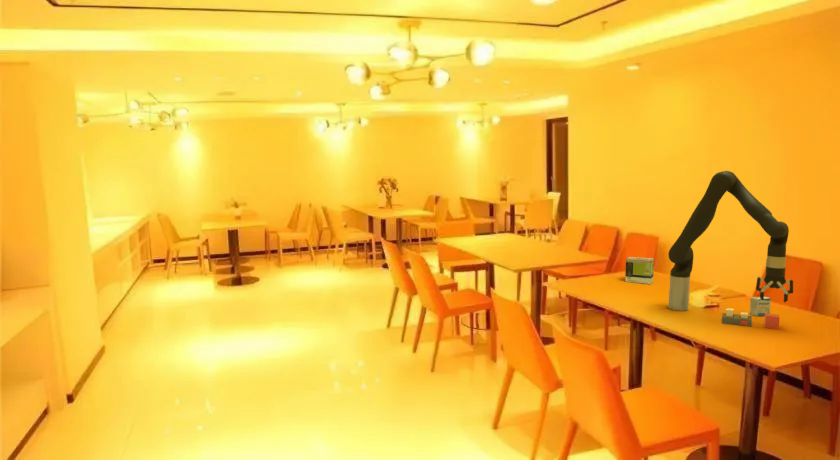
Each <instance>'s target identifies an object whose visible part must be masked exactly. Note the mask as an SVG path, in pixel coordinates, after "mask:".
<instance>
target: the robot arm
mask: <svg viewBox="0 0 840 460" xmlns="http://www.w3.org/2000/svg"><path fill="white" fill-rule="evenodd" d="M727 192H728V193H729V194H730V195H731V196H733V197H735V199H737V201H738V202H739V204H740V205H741V206H742V208H743V209H744V211H745V212H746V213H747V214H748V215H749V216H750V217H751V218H752V219H753V220H754V221H756V223H758V224H759V226H760V227H761V228H762V229H763V231H764V232H765V233H766V234H767V235H768V236H769V237H770V240H769V243H768V246H767V254H766V255H767V256H766V260H765V261H766V262H765V276H764V277H760V276H757V279H756V285H755V290H756V291H758V292H759V297H760V299H762V300H764V297H765V291H767V289H769V288H771V289H776V290H777V289H778V290H779V289H781V290H782V291H783V303H786V302H788V300H789V295H790V294H794V280H793V279H786V266H787V259H786V256H787V255H786V254H787V243H788V238H789V232H790V230H789V225H788V224H787V223H786V222H784V221H778V220H777V219H776V218H775V216H773V213H772V212H771V210H770V209H768V208H767V207H766V206H765V205H764V204H763V203H762V202H761V201H759V199H757V198H756V197H755V196H754V195H753V194H752V193H751V191H749V190H748V189H747V187H745V185H744V184H743V183H742V181H741V180H740V179H739V178H738V176H737V175H736V174H735V173H734V171H733V172H732V171H730V170H723V171H718V172H716V173H715V174H714V175H713V176H712V177H711V179H710V182H709V184H708V186H707V188H706V191H705V192H704V195H703V197H701V199H700V201H699V202H698V204H697V205H696V207H695V208H694V210H693V212H692V214H691V215H690V217H689V219H688V221H687V223H686V225H685V226H684V228H683V229H682V231H681V233H680V235H679V236H678V237H677V238H676V240H675V241H674V243H673V244H672V246H671V247H670V248H669V251H668V260H669V261H670V262H671V263H673V264H674V265H673V267H672V268H671V270H670V275H669V276H670V277H669V290H668V303H667V304H668V305H667V308H668V309H669V310H673V311H677V312H678V311H681V312H682V311H683V312H684V311H688V310H689V306H690V305H689V304H690V303H689V301H690V286H691V273H692V271H693V265H694V251H693V248H692V245H693V244H694V242H695V241H696V240H697V239H698V238H700V237H701V236H702V234H704V233H705V232H706V231H707V229H708V228H709V226H710V225H711V223H712V221H713V220H714V218H715V215H716V212H717V208H718V204H719V202H720V201H721V199H722V198H723V196H724V195H725V193H727ZM763 281H764V282H765V284H764V285H763V286H762V287H760V286H761V285H760V284H761V283H763ZM786 283H787V285H789V289H788V290H787V289H786V287H785V286H784V285H785V284H786Z"/></svg>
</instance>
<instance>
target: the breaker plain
mask: <svg viewBox="0 0 840 460" xmlns="http://www.w3.org/2000/svg"><path fill="white" fill-rule="evenodd" d="M725 313H726V316H728V317H733V314H734V308H728V307H727V308H726V309H725Z"/></svg>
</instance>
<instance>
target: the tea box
mask: <svg viewBox="0 0 840 460" xmlns="http://www.w3.org/2000/svg"><path fill="white" fill-rule="evenodd" d="M654 264H655V259H654V258H653V257H637V256H636V257H635V256H628V257H627V258H625V275H624V276H625V277H624V278H625V282H626V283H627V282H628V283H636V284H647V285H648V284H649V285H651V284H652V283H653V282H654V270H655V269H654Z"/></svg>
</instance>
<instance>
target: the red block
mask: <svg viewBox="0 0 840 460" xmlns="http://www.w3.org/2000/svg"><path fill="white" fill-rule="evenodd" d="M763 322H764V324H763V325H764V326H763V327H764V328H765V329H775V330H780V329H779V328H780V314H779V313H778V314H777V313H771V312H770V313H765V316H764V321H763Z"/></svg>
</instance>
